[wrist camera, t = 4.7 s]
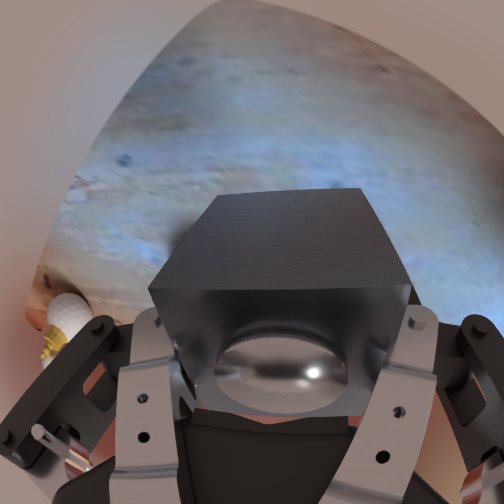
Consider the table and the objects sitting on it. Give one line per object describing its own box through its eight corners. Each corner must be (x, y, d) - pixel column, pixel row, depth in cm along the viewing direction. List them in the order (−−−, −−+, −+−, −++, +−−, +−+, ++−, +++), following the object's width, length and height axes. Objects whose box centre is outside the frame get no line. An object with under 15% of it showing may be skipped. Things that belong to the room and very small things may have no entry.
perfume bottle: (88, 285, 34) (40, 345, 24) (113, 334, 39) (78, 393, 29) (56, 282, 35) (12, 334, 25) (81, 327, 40) (47, 379, 30)
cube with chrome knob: (360, 188, 10) (418, 297, 4) (352, 302, 13) (367, 424, 7) (217, 195, 11) (140, 299, 6) (238, 303, 14) (203, 419, 8)
